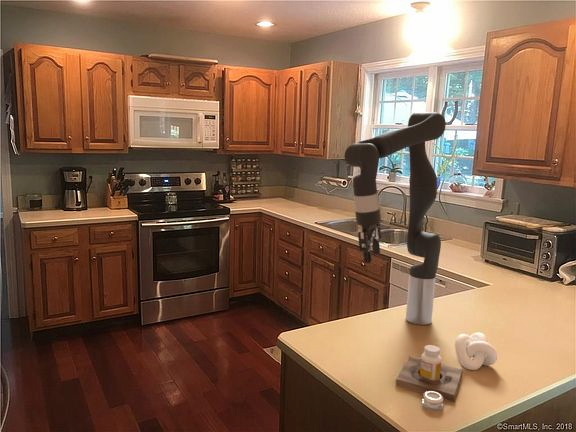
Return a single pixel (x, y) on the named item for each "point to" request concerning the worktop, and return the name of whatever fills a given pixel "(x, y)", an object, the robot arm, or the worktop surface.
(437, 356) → the supplement bottle
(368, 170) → the robot arm
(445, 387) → the socket board
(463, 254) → the worktop surface
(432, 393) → the metal grooved wheel
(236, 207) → the worktop surface
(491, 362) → the white knot
